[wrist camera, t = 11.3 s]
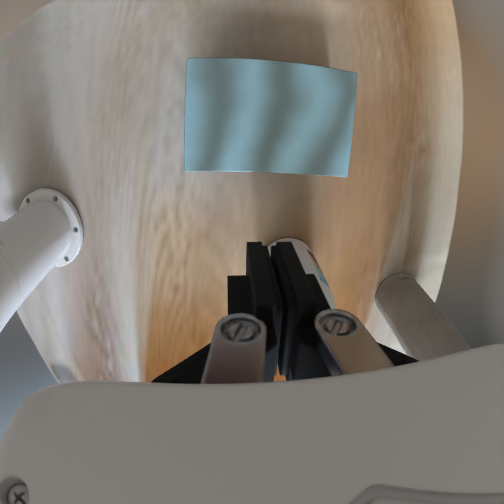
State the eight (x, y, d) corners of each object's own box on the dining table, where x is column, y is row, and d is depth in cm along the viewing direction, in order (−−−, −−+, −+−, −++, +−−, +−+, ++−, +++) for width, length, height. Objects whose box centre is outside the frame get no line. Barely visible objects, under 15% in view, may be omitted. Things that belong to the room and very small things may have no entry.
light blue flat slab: (185, 169, 29) (184, 171, 28) (187, 59, 24) (186, 58, 23) (344, 175, 31) (347, 177, 30) (353, 73, 26) (357, 73, 25)
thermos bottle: (421, 277, 47) (515, 394, 22) (400, 314, 50) (474, 435, 25) (388, 267, 46) (486, 400, 21) (367, 307, 49) (439, 445, 24)
